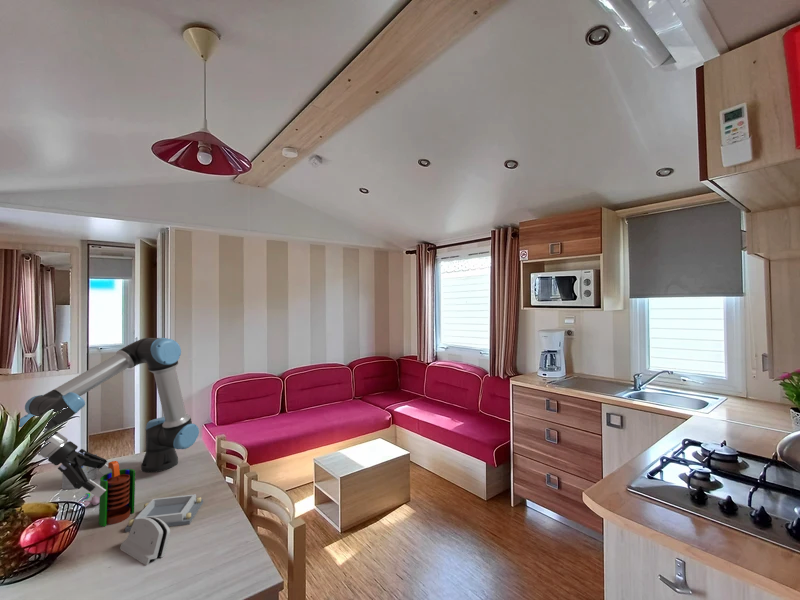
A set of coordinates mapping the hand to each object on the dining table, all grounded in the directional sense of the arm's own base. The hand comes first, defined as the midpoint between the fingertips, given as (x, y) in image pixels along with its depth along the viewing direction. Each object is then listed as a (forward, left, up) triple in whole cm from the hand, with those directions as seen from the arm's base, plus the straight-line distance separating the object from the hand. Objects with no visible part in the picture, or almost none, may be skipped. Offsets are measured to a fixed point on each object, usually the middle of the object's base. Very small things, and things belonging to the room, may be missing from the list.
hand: (110, 485), depth 130 cm
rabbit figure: (-13, -12, -13) cm, 22 cm away
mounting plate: (+2, +20, -12) cm, 23 cm away
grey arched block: (+21, +21, -13) cm, 33 cm away
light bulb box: (-36, -29, -13) cm, 48 cm away
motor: (-1, +2, -13) cm, 13 cm away
